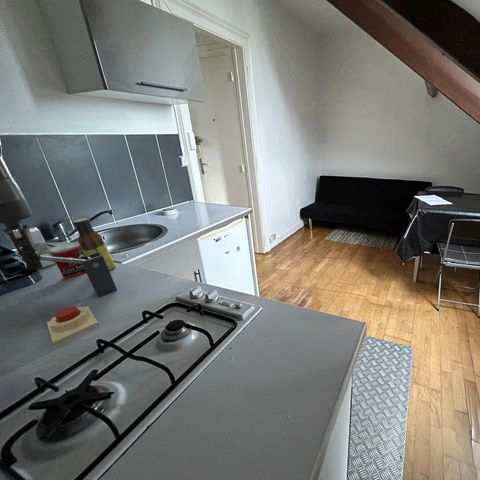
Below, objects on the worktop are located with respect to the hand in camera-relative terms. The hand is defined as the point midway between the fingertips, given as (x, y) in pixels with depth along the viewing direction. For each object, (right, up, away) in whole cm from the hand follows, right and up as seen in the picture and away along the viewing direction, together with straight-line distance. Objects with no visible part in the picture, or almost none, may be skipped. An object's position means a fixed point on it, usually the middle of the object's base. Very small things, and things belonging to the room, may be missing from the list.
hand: (35, 264), depth 65 cm
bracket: (+8, -10, +13) cm, 18 cm away
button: (+11, -13, -2) cm, 17 cm away
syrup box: (-35, -4, +35) cm, 50 cm away
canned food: (-13, -6, +26) cm, 30 cm away
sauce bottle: (-4, -6, +26) cm, 27 cm away
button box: (+11, -16, -1) cm, 19 cm away
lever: (+3, -1, +4) cm, 5 cm away
